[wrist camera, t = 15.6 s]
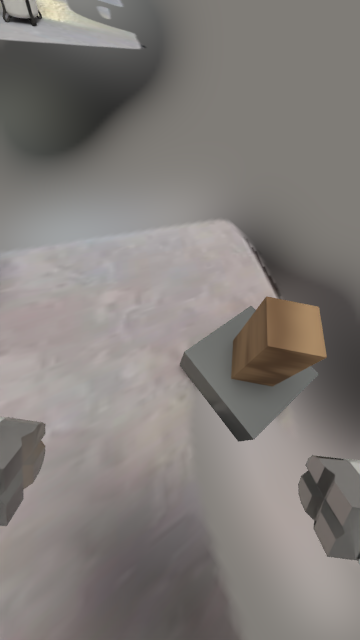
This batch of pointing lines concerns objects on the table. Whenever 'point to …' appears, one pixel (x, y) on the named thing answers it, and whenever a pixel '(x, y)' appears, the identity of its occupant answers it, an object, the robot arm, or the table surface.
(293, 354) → the oak block
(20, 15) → the coffee press
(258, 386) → the block
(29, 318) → the table surface
